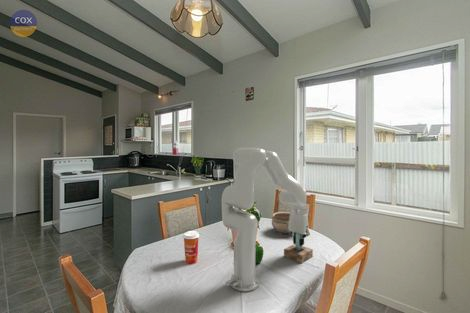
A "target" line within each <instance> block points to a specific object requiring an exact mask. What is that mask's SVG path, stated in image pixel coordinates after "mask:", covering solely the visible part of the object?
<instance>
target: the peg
mask: <svg viewBox="0 0 470 313" xmlns="http://www.w3.org/2000/svg"><path fill="white" fill-rule="evenodd" d="M300 238H301V237H300V234H299V233H296V250H297V251H301V250H302V246H303V245H302V246H300Z"/></svg>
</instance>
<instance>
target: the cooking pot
mask: <svg viewBox="0 0 470 313" xmlns="http://www.w3.org/2000/svg"><path fill="white" fill-rule="evenodd" d="M290 213H291V212H289V211H288V212H287V211H279V212H277V211H276V212H274V213H273V214H272V219H271V226H272V227H273V229H274V230H275V231H277V232H278V233H280V234H281V235H290V234H291V232H290V231H289V230H288V227H289V217H290Z"/></svg>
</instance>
